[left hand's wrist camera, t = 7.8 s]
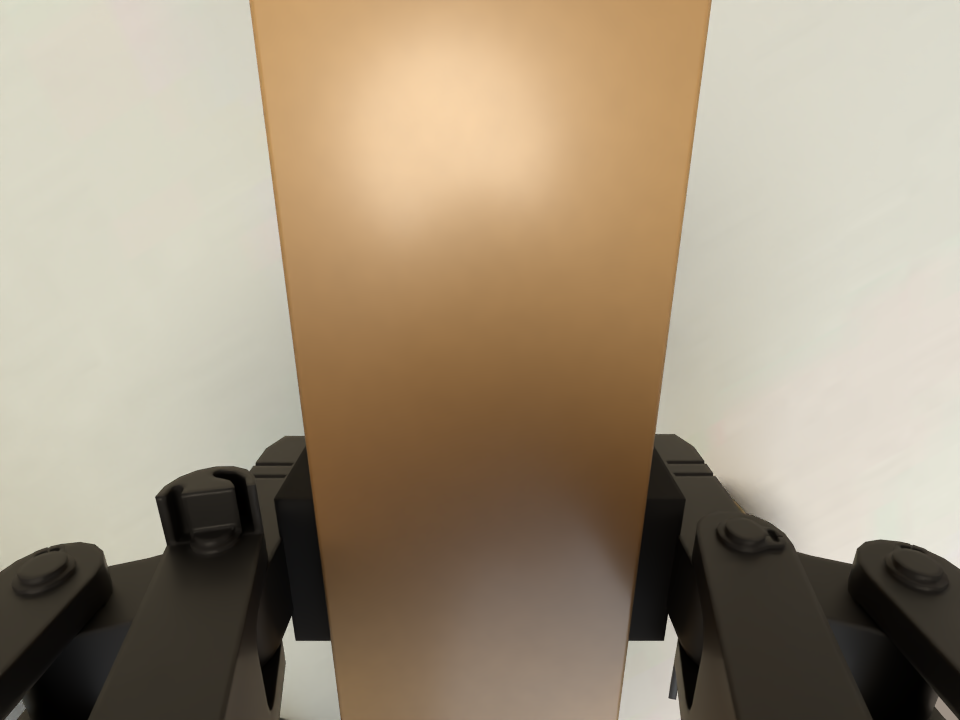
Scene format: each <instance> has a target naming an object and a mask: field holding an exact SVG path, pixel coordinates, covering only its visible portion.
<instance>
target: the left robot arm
mask: <svg viewBox="0 0 960 720" xmlns="http://www.w3.org/2000/svg"><path fill="white" fill-rule="evenodd" d="M155 498H156V502H157V506H158V510H159V514H160V518H161V522H162V527H163V531H164V535H165V539H166V543H167V547H166V549H165V551H164V553H163V554H162V555H158V556H155V557H151V558H147V559H142V560H137V561H132V562H128V563H123V564H118V565H113V566H107V563H106V559H105V556H104V553H103V551H102V550H101V549H100V548H99V547H97V546H96V545H95V544H89V543H83V542H76V543H67V544H59V545H55V546H50V547H49V548H48V547H47V548H44V549H41V550H38V551H36V552H34V553H32V554H30V555H28V556H26V557H24V558H22V559H20V560H18V561H16V562H14V563H13V564H11V565H10V566H8V567H7V568H6V569H4V570H3V571H1V572H0V720H4V719H5V718H6V717H7V716H8V715H9V713H10V712H11V711H12V710H13V709H14V708H15V706H16V705H17V704H18V703H19V702H20V701H21V699H22V700H23V703H24V705H25V707H26V709H25V710H24V712H23V713H22V714H21V715H20V716H19V718H18V719H17V720H279V716H280V707H281V699H282V690H283V682H284V673H285V664H286V662H285V655H284V648H283V642H282V638H283V636H284V633H285V631H286V628H287V626H288V623H289V621H290V618H291V616H292V620H293V626H294V633H295V639H296V641H331V637H330V629H329V621H328V613H327V605H326V598H325V590H324V582H323V574H322V566H321V558H320V550H319V543H318V535H317V527H316V519H315V511H314V503H313V496H312V488H311V480H310V472H309V464H308V456H307V449H306V441H305V436H285V437H283V438H281V439H280V440H278V441H277V442H275V443H274V444H272V445H271V446H269V447H268V448H266V449H265V451H264V452H263V454H262V455H261V456H260V458H259V459H258V460H257V462H256V466H253V467H252V469H251V470H250V472H249V471H248V470H247V469H243V468H239V467H234V466H218V467H211V468H206V469H201V470H197V471H194V472H192V473H189V474H186V475H184V476H181V477H179V478H177V479H176V480H174V481H172V482H171V483H169V484H168V485H166V486H164V488H163V489H162V490H161V491H160V492H159V493H158V494H157V495H156V497H155ZM668 614H669V617H670V619H671V621H672V624H673V626H674V629H675V631H676V634H677V636H678V642H677V648H676V654H675V660H674V666H673V672H672V678H671V684H670V691H669V698H670V699H675V700H676V696H677V691H678V698H679V706H680V715H681V720H946V719H945V718H944V717H943V716H942V715H941V714H940V712H939V711H938V710H937V709H936V708H935V704H936V701H937V699H938V696H939V697H940V698H941V699H942V700H943V702H944V703H945V704H946V705H947V706H948V707H949V709H950V710H951V711H952V712H953V713H954V714H955V716H956V717H957V718H958V719H959V720H960V569H959V568H957V567H956V566H954V565H953V564H951V563H950V562H949V561H947V560H946V559H944V558H942V557H940V556H938V555H936V554H934V553H931V552H929V551H927V550H926V549H924V548H921V547H918V546H915V545H910V544H908V543H904V542H898V541H889V540H874V541H868V542H865V543H863V544H862V545H861V546H860V547H859V548H857V551H856V554H855V558H854V561H853V564H849V563H844V562H839V561H834V560H830V559H825V558H820V557H815V556H810V555H807V554H803V553H799V552H796V550H795V548H794V546H793V544H792V543H791V541H790V540H789V539H788V537H787V536H786V535H785V533H783V532H782V531H781V530H779V529H778V528H777V527H775V526H774V525H772V524H771V523H769V522H767V521H765V520H762V519H760V518H758V517H755V516H753V515H749V514H745V513H742V512H741V511H740V509H739V508H738V507H737V505H736V504H735V502H734V501H733V500H732V498H731V497H730V496H729V494H728V493H727V491H726V490H725V489H724V487H723V486H722V485H721V483H720V482H719V481H718V479H717V478H716V476H713V472H712V471H711V470H710V468H709V467H708V466H707V464H704V460H703V459H702V457H701V456H700V455H699V453H698V452H697V450H696V449H695V448H694V447H693V446H692V445H690V444H689V443H687V442H686V441H684V440H683V439H681V438H680V437H678V436H677V435H675V434H655V439H654V447H653V455H652V462H651V470H650V478H649V486H648V493H647V501H646V509H645V516H644V524H643V532H642V539H641V547H640V555H639V562H638V570H637V578H636V585H635V593H634V601H633V608H632V616H631V624H630V632H629V639H628V641H664V637H665V630H666V624H667V617H668Z"/></svg>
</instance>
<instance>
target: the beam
mask: <svg viewBox="0 0 960 720" xmlns="http://www.w3.org/2000/svg"><path fill="white" fill-rule="evenodd" d="M711 1H712V0H249V2H250V10H251V18H252V25H253V33H254V41H255V49H256V57H257V65H258V72H259V80H260V88H261V96H262V104H263V112H264V119H265V127H266V135H267V143H268V151H269V159H270V166H271V174H272V182H273V190H274V198H275V206H276V213H277V221H278V229H279V237H280V245H281V253H282V260H283V268H284V276H285V284H286V292H287V300H288V308H289V315H290V323H291V331H292V339H293V347H294V355H295V362H296V370H297V378H298V386H299V394H300V402H301V409H302V417H303V425H304V433H305V441H306V449H307V456H308V464H309V472H310V480H311V488H312V496H313V503H314V511H315V519H316V527H317V535H318V543H319V550H320V558H321V566H322V574H323V582H324V590H325V598H326V605H327V613H328V621H329V629H330V637H331V645H332V652H333V660H334V668H335V676H336V684H337V692H338V699H339V707H340V715H341V720H618V716H619V708H620V701H621V693H622V685H623V678H624V670H625V662H626V655H627V647H628V639H629V632H630V624H631V616H632V608H633V601H634V593H635V585H636V578H637V570H638V562H639V555H640V547H641V539H642V532H643V524H644V516H645V509H646V501H647V493H648V486H649V478H650V470H651V462H652V455H653V447H654V439H655V432H656V424H657V416H658V409H659V401H660V393H661V386H662V378H663V370H664V363H665V355H666V347H667V339H668V332H669V324H670V316H671V309H672V301H673V293H674V286H675V278H676V270H677V263H678V255H679V247H680V240H681V232H682V224H683V216H684V209H685V201H686V193H687V186H688V178H689V170H690V163H691V155H692V147H693V140H694V132H695V124H696V117H697V109H698V101H699V93H700V86H701V78H702V70H703V63H704V55H705V47H706V40H707V32H708V24H709V17H710V9H711Z"/></svg>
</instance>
